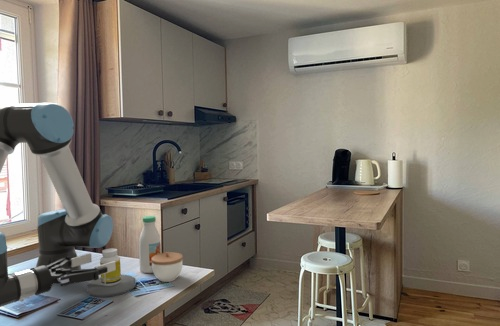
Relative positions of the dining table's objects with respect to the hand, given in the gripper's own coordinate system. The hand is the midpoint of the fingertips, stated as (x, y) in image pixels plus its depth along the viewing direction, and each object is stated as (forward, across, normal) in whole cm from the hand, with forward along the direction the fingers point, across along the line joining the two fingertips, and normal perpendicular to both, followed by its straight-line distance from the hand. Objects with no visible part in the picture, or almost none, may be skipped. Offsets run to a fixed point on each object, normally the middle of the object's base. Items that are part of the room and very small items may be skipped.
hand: (102, 261), depth 120 cm
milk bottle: (+21, -3, -10) cm, 24 cm away
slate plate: (+3, 0, -10) cm, 10 cm away
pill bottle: (+3, 0, -8) cm, 9 cm away
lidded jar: (+19, +9, -10) cm, 23 cm away
